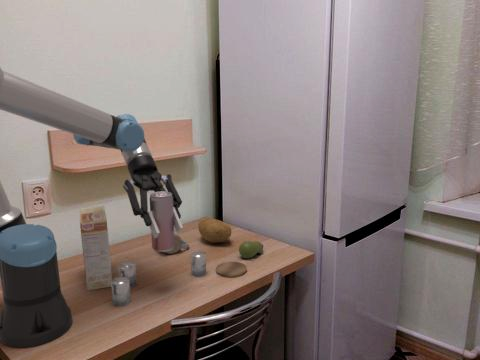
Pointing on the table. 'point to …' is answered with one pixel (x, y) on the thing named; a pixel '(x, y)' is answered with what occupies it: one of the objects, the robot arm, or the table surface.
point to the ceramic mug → (178, 244)
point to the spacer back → (128, 272)
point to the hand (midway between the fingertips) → (168, 232)
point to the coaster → (231, 269)
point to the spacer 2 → (198, 263)
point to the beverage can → (163, 220)
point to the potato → (214, 230)
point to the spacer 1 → (120, 291)
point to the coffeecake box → (95, 247)
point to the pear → (250, 249)
